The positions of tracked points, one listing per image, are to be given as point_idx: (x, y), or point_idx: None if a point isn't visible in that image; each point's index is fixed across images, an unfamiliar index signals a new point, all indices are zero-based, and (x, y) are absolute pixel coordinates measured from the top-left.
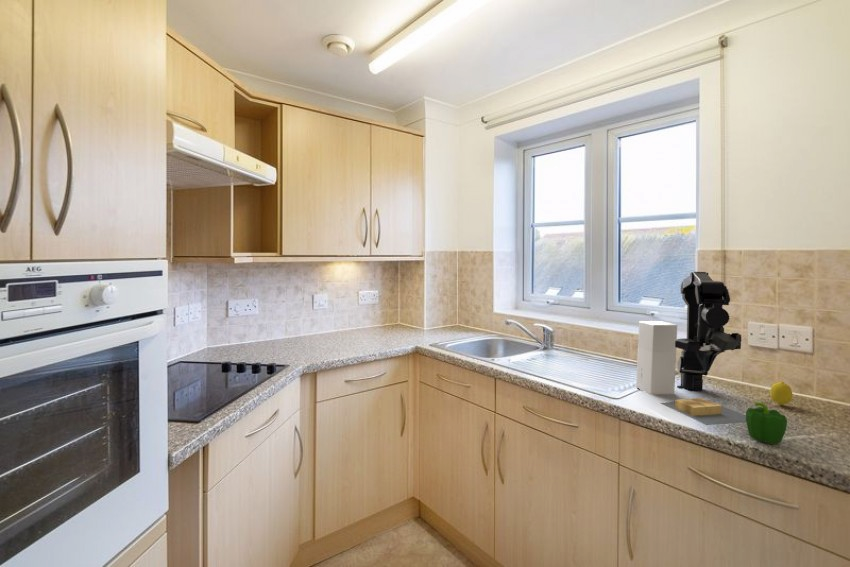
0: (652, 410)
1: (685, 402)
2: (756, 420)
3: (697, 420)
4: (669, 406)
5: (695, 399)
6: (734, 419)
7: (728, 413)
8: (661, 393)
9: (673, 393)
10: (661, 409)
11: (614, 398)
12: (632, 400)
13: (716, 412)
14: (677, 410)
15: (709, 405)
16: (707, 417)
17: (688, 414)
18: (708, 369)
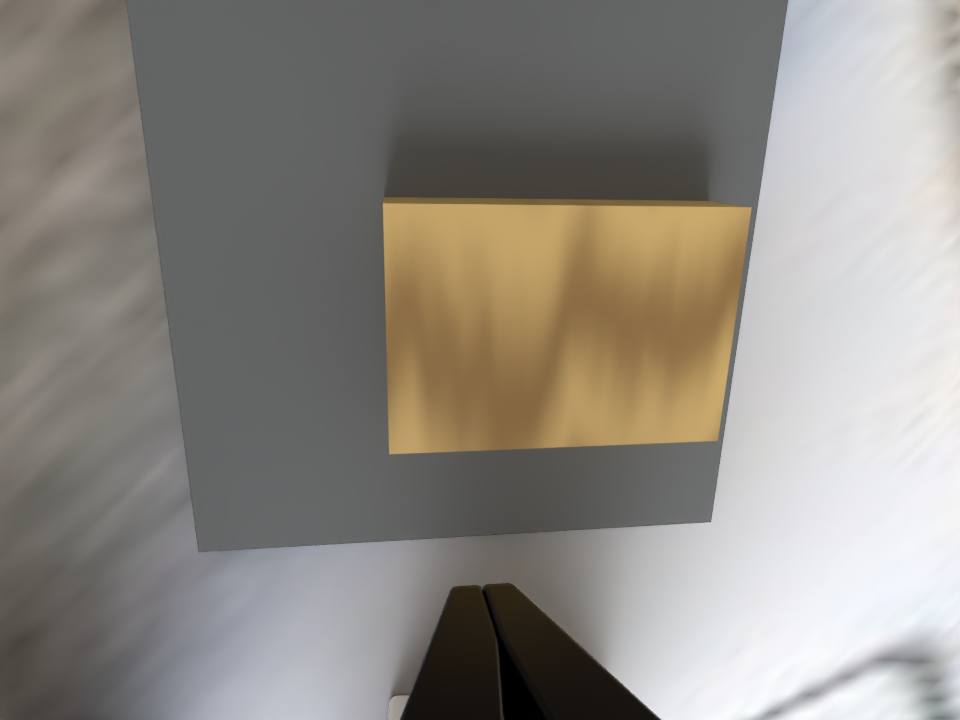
0: (871, 405)
1: (688, 358)
2: None
3: (774, 85)
4: None
5: (504, 424)
6: (381, 27)
7: (295, 192)
8: None
9: (401, 708)
10: (782, 416)
11: (916, 657)
12: (827, 612)
13: (445, 198)
14: None
15: (517, 237)
16: (610, 136)
17: None
18: (480, 599)
